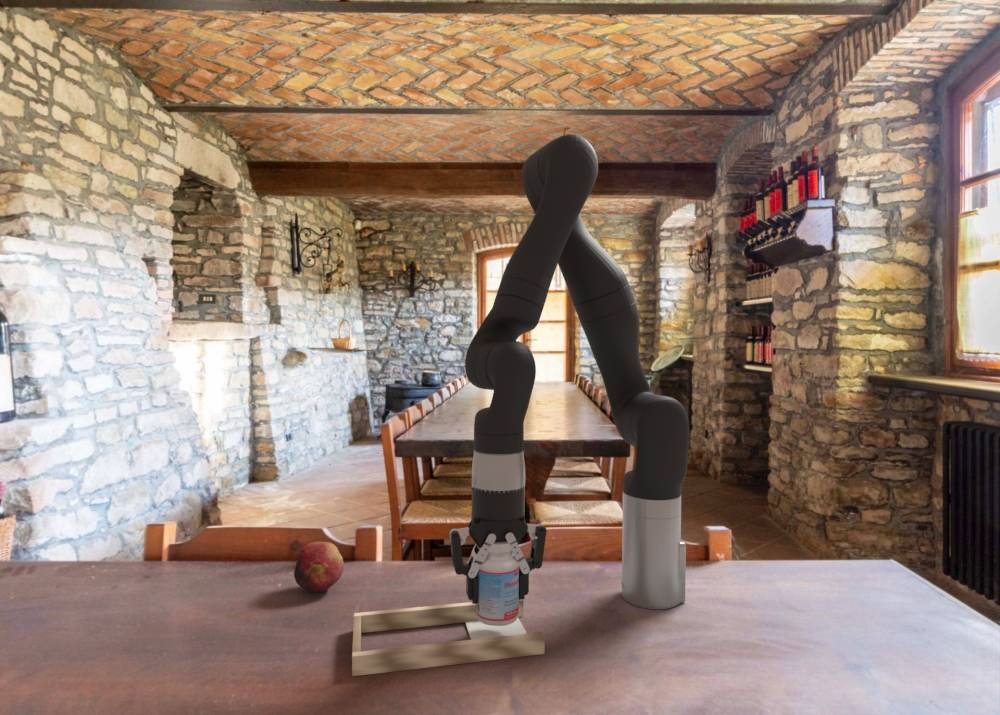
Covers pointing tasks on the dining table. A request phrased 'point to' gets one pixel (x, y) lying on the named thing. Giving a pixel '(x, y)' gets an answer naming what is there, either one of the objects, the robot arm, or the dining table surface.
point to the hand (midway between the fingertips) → (497, 599)
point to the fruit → (318, 566)
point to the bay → (439, 651)
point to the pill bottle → (498, 587)
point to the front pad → (493, 629)
